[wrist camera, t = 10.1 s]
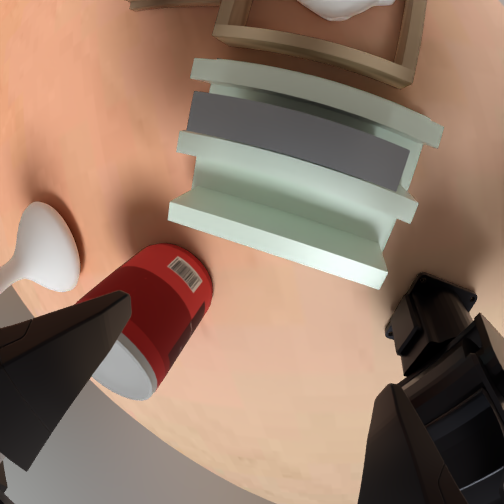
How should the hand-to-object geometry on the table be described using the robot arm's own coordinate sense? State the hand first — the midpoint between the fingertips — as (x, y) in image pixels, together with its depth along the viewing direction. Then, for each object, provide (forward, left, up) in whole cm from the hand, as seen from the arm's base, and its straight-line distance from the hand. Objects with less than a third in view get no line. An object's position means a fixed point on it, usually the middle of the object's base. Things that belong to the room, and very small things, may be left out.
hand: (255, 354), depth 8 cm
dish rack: (+1, -4, -13) cm, 14 cm away
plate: (+1, -6, -12) cm, 13 cm away
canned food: (+9, +9, -13) cm, 18 cm away
